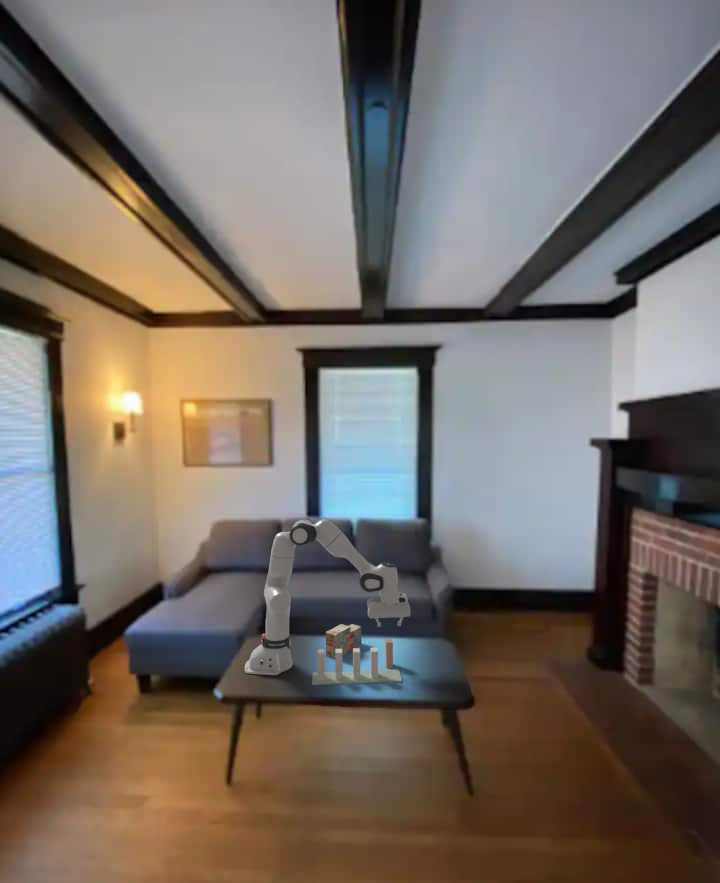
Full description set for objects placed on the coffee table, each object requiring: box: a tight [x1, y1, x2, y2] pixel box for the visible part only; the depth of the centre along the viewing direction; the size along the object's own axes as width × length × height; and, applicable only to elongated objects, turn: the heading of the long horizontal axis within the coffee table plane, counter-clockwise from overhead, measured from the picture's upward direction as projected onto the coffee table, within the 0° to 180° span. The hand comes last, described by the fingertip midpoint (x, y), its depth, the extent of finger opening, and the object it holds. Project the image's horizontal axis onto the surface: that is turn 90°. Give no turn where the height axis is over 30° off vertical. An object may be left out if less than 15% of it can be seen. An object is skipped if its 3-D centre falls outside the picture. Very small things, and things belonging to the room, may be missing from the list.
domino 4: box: [370, 647, 379, 678], centre depth 216 cm, size 3×4×12 cm
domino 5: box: [384, 638, 394, 669], centre depth 227 cm, size 3×4×12 cm
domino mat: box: [311, 669, 403, 686], centre depth 216 cm, size 40×10×1 cm, turn 93°
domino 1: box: [317, 648, 326, 680], centre depth 215 cm, size 3×4×12 cm
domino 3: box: [352, 647, 361, 679], centre depth 216 cm, size 3×4×12 cm
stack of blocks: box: [325, 623, 362, 660], centre depth 244 cm, size 21×6×12 cm, turn 143°
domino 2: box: [335, 649, 343, 680], centre depth 215 cm, size 3×4×12 cm
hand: (389, 626), depth 226 cm, fingers open, 8 cm apart
